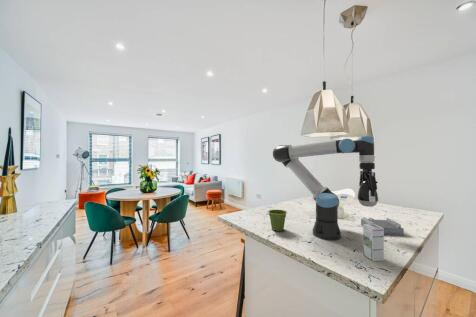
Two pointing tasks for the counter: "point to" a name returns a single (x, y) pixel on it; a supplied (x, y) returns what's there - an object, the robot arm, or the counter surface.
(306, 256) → the counter surface
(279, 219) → the plant pot
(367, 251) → the syrup box
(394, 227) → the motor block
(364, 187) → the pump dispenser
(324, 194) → the robot arm
